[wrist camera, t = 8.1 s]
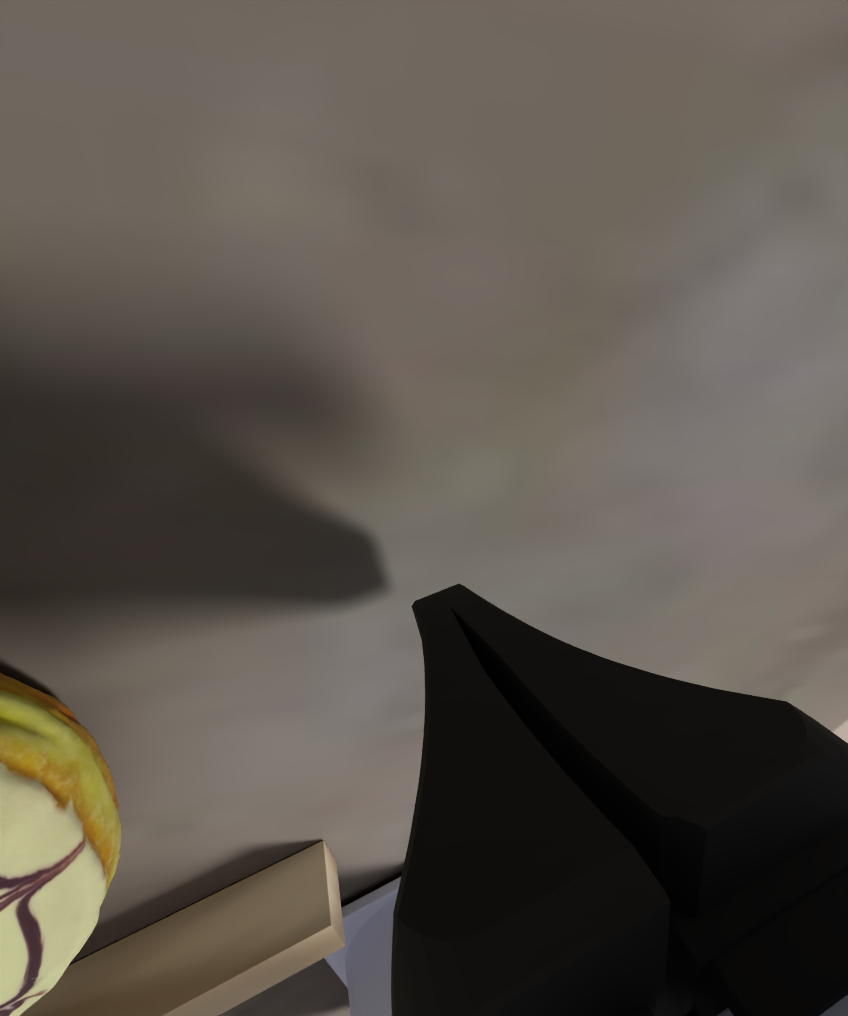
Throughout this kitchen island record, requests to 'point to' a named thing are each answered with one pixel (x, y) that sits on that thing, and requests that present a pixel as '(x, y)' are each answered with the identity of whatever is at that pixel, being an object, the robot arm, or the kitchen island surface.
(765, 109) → the kitchen island surface
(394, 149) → the kitchen island surface
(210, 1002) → the wooden bar frame
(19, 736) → the decorated donut
